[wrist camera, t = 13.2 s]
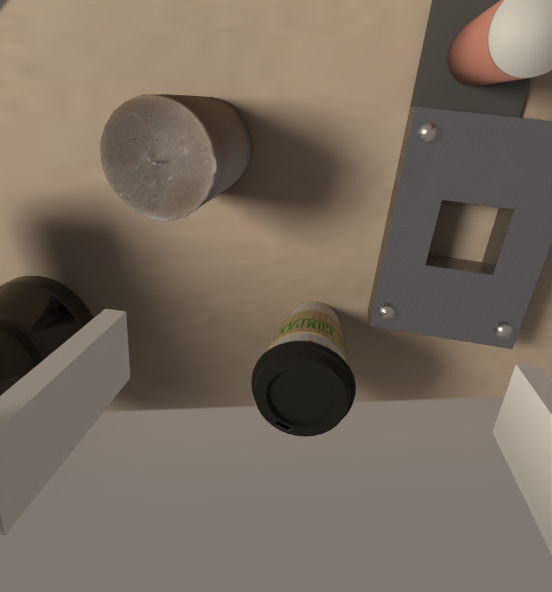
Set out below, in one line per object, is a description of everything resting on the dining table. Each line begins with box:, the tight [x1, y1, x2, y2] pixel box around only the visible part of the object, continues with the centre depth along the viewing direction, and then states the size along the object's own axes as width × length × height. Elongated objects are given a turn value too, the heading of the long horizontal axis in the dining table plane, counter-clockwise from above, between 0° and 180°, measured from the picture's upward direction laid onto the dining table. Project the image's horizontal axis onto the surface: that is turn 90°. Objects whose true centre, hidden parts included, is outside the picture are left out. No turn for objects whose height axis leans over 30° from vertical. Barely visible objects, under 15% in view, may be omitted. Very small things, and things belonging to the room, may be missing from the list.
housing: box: [368, 107, 552, 349], centre depth 43 cm, size 15×22×5 cm
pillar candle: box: [100, 94, 251, 222], centre depth 40 cm, size 10×10×15 cm
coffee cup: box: [252, 302, 356, 436], centre depth 46 cm, size 10×10×15 cm
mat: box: [410, 0, 532, 118], centre depth 39 cm, size 10×10×1 cm
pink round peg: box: [447, 0, 552, 86], centre depth 33 cm, size 5×5×13 cm
